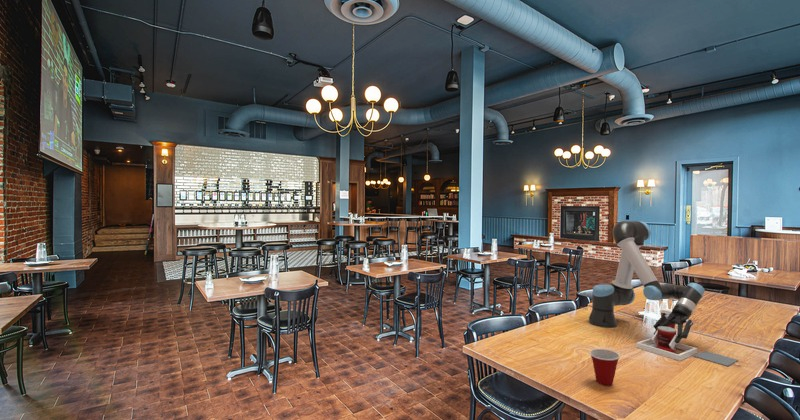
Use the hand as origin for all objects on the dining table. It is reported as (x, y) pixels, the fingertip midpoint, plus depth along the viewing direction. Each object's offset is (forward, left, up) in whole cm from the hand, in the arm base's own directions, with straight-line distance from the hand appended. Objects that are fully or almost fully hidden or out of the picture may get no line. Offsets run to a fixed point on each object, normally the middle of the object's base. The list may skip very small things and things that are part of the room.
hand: (662, 343), depth 187 cm
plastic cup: (+5, -60, -4) cm, 60 cm away
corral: (+1, +3, -4) cm, 5 cm away
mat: (+18, +12, -4) cm, 22 cm away
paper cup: (-10, +31, -4) cm, 33 cm away
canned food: (+1, +3, -4) cm, 5 cm away
